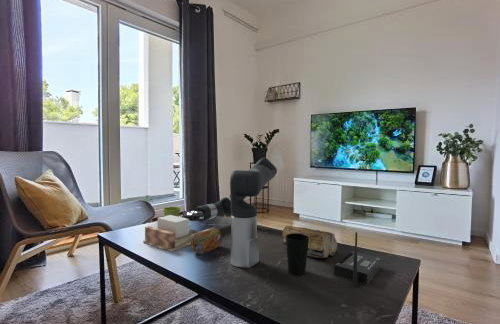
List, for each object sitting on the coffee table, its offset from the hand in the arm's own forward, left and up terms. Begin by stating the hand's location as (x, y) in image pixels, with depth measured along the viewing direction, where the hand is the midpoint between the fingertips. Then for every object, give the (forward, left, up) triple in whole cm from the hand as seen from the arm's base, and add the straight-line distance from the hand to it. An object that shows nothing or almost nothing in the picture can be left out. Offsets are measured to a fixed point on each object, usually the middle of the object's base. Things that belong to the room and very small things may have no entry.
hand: (179, 219), depth 125 cm
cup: (-57, 0, -9) cm, 58 cm away
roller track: (0, +2, -9) cm, 9 cm away
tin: (-19, +3, -9) cm, 21 cm away
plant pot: (+22, -14, -9) cm, 28 cm away
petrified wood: (-53, -20, -9) cm, 57 cm away
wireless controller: (-74, -11, -10) cm, 75 cm away
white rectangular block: (0, +3, -6) cm, 7 cm away
